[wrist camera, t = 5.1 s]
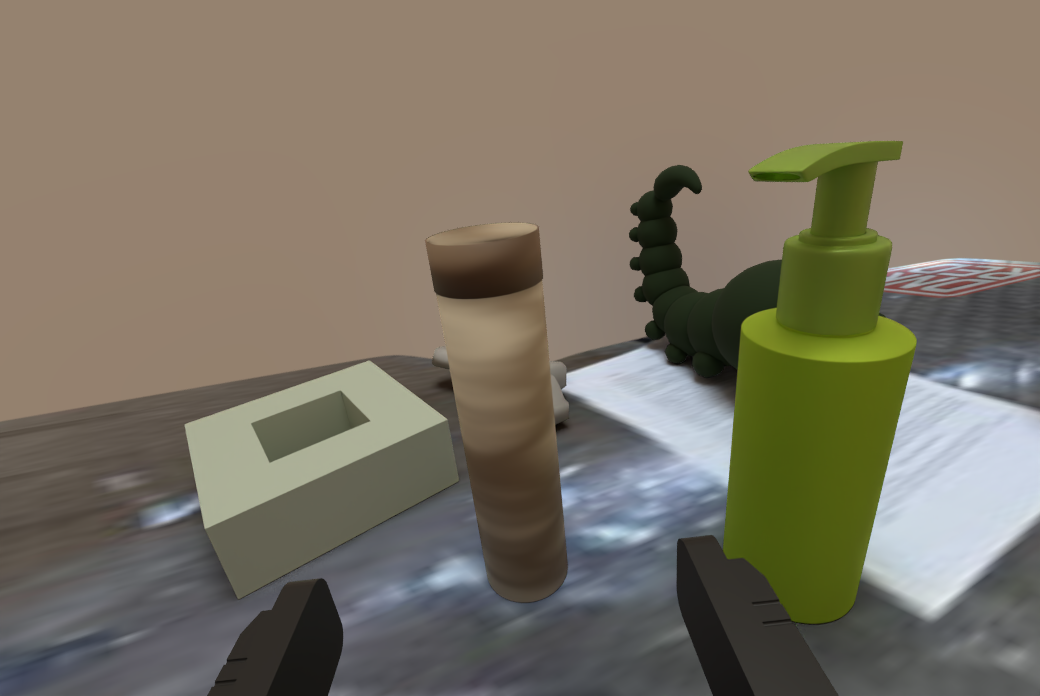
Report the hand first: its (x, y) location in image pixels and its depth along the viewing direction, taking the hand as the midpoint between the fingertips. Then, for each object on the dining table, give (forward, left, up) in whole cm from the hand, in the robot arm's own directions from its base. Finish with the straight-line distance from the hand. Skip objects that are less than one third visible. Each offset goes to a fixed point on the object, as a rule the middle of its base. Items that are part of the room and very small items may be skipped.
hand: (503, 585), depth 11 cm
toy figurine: (+34, +14, -12) cm, 38 cm away
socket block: (+1, +25, -12) cm, 28 cm away
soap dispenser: (+16, 0, -12) cm, 20 cm away
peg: (+7, +9, -12) cm, 16 cm away
